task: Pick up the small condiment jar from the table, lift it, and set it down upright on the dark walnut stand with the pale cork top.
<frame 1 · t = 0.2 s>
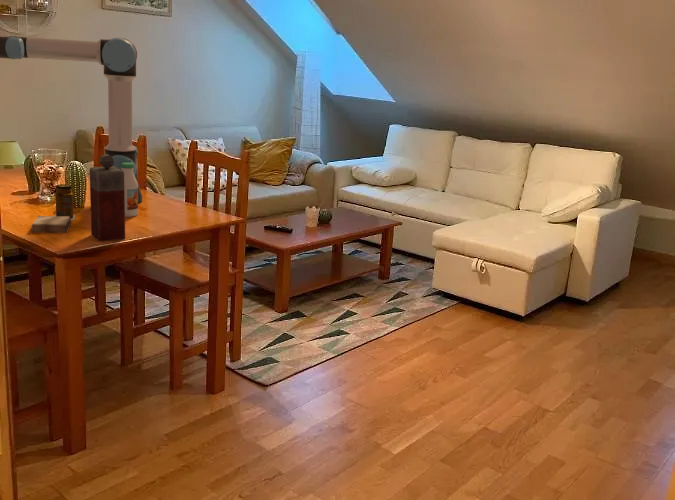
milk bottle: (127, 215, 266), on the table, touching arm
square decanter: (107, 236, 237), on the table
stand: (52, 228, 241), on the table
condiment: (64, 218, 255), on the table
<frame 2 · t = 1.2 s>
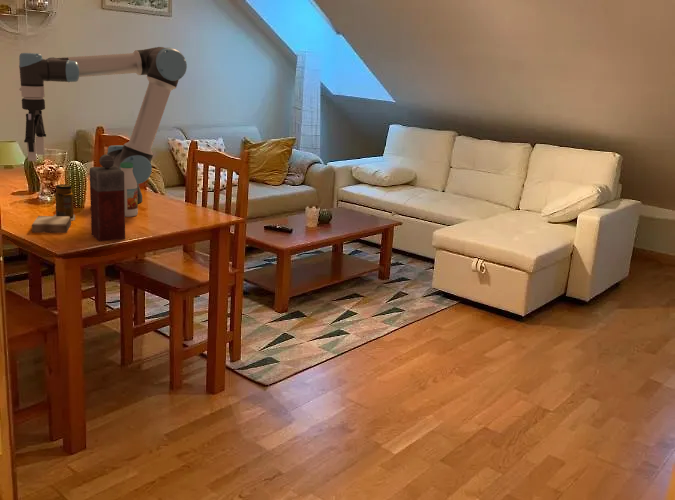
hand: (36, 157, 252), 21 cm above the table, tool pointing down, fingers open, 13 cm apart
milk bottle: (127, 215, 266), on the table
everything else where it was.
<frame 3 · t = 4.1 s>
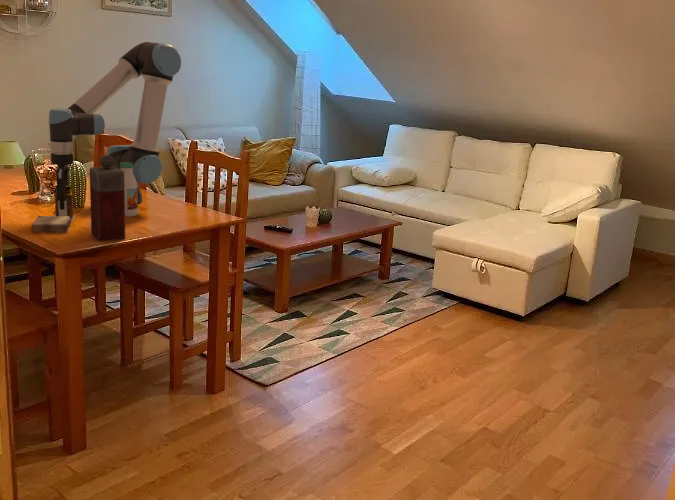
hand: (64, 215, 255), 1 cm above the table, tool pointing down, fingers closed on condiment, 6 cm apart
condiment: (64, 218, 255), on the table, touching gripper
everything else where it was.
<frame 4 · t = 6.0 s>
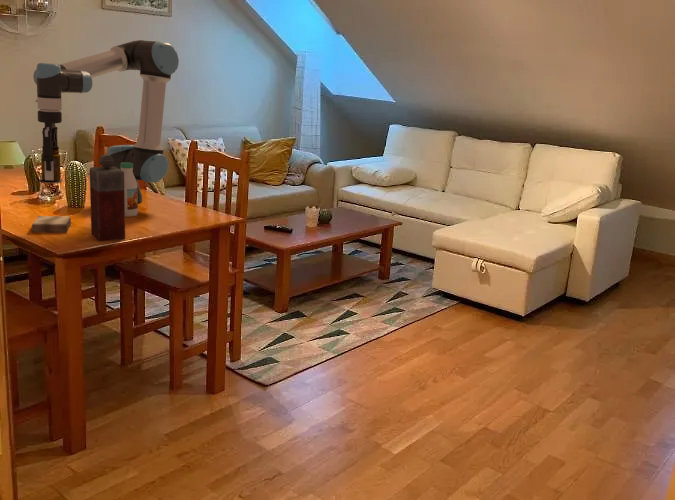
hand: (51, 178, 240), 17 cm above the table, tool pointing down, fingers closed on condiment, 6 cm apart
condiment: (50, 181, 239), point 16 cm above the table, touching gripper
everything else where it was.
when the fingers open (5 cm above the table, at t = 8.2 s): condiment drops 1 cm, resting on stand.
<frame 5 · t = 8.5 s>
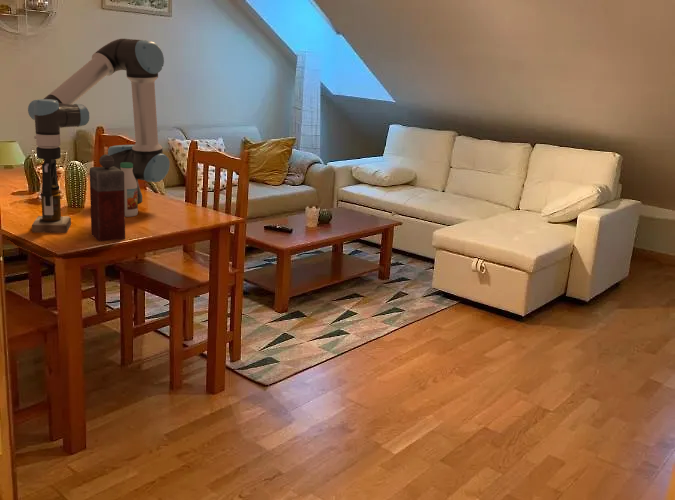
hand: (51, 211, 239), 6 cm above the table, tool pointing down, fingers open, 9 cm apart
condiment: (51, 221, 239), point 3 cm above the table, touching stand
everything else where it was.
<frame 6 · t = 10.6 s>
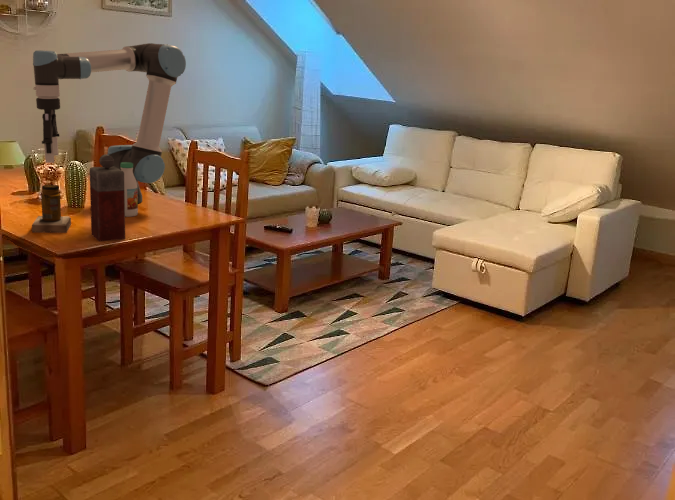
hand: (52, 158, 244), 23 cm above the table, tool pointing down, fingers open, 13 cm apart
nothing on the table moved.
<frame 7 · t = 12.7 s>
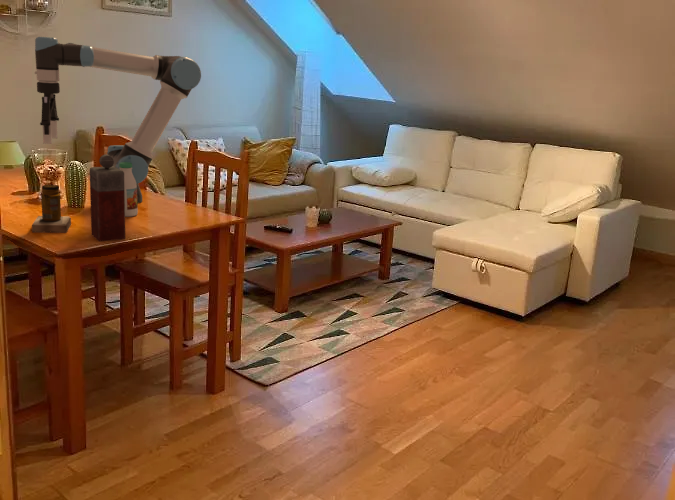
hand: (50, 141, 255), 27 cm above the table, tool pointing down, fingers open, 13 cm apart
milk bottle: (127, 214, 266), on the table, touching arm
everything else where it was.
at the end: condiment inside the target area on the stand (0.8 cm from its centre), point 2.8 cm above the stand's base; condiment tilted 0°; the gripper is holding nothing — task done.
